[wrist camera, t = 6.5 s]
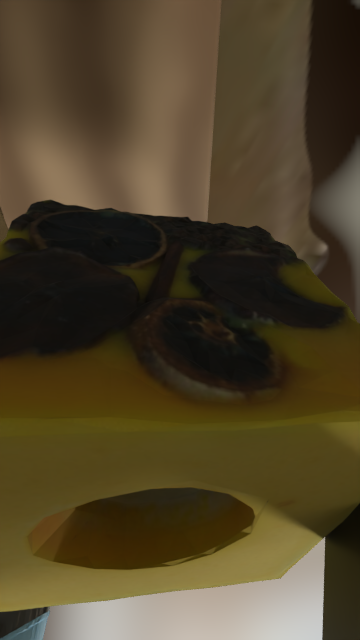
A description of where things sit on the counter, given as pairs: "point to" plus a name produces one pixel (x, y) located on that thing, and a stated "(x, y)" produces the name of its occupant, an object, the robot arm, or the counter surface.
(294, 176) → the counter surface
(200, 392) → the candle
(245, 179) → the counter surface
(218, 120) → the counter surface
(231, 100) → the counter surface
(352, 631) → the robot arm
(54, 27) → the display stand
